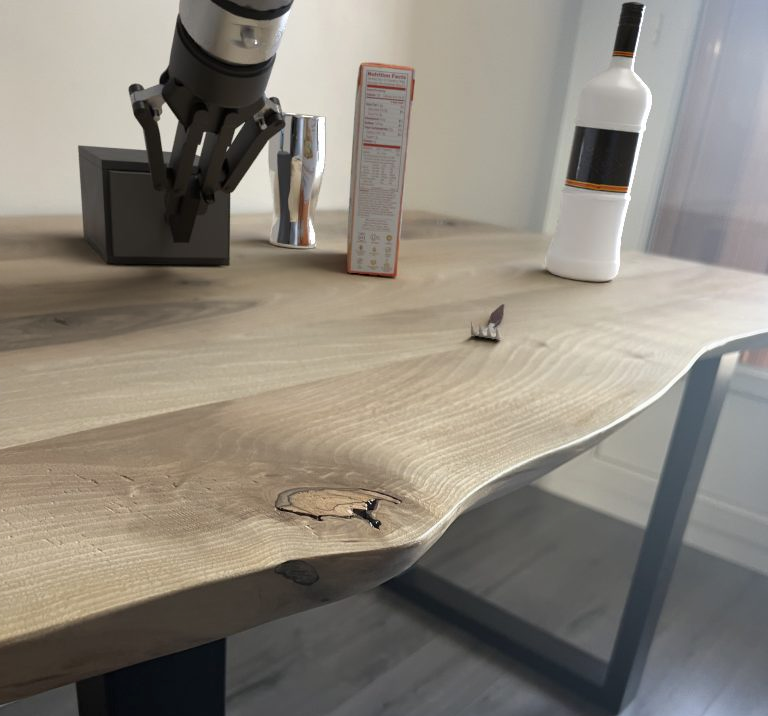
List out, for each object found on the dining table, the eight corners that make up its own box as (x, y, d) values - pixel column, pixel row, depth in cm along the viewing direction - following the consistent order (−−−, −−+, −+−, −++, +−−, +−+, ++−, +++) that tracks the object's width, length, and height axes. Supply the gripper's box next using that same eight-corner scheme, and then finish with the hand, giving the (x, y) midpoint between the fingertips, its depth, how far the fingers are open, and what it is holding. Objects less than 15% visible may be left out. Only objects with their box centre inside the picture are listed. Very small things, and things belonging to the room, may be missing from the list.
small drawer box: (229, 265, 88) (230, 167, 84) (106, 263, 83) (101, 159, 78) (193, 240, 100) (193, 153, 95) (83, 237, 94) (77, 145, 90)
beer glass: (315, 241, 108) (323, 116, 101) (323, 250, 102) (331, 118, 95) (263, 237, 106) (266, 110, 100) (267, 247, 100) (272, 112, 94)
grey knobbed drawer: (231, 260, 86) (232, 180, 82) (117, 259, 81) (113, 173, 77) (194, 235, 97) (193, 164, 94) (92, 232, 92) (87, 157, 89)
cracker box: (343, 252, 103) (357, 63, 93) (391, 256, 103) (409, 69, 94) (343, 274, 90) (358, 58, 81) (397, 278, 91) (419, 65, 81)
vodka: (534, 273, 103) (583, -7, 89) (554, 264, 110) (603, 6, 97) (606, 286, 99) (669, -2, 86) (622, 276, 107) (682, 10, 93)
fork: (515, 312, 81) (519, 291, 81) (496, 350, 67) (500, 326, 67) (490, 308, 82) (493, 287, 81) (465, 345, 68) (468, 321, 67)
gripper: (148, 61, 57) (117, 263, 77) (322, 80, 62) (250, 263, 83) (129, -23, 58) (103, 196, 79) (299, 4, 64) (234, 201, 85)
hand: (178, 230), depth 81 cm, fingers closed
